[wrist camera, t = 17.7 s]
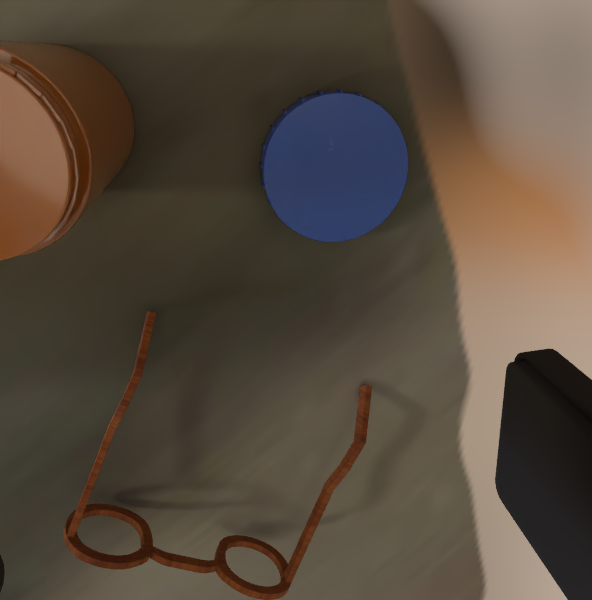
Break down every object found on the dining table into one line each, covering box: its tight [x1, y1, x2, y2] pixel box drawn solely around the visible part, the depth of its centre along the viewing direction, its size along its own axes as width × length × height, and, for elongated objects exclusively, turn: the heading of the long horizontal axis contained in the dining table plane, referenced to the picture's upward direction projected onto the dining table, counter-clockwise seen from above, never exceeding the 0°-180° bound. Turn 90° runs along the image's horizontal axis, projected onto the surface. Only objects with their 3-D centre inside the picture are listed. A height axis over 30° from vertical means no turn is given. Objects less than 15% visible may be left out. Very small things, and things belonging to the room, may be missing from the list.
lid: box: [259, 89, 408, 242], centre depth 25 cm, size 7×7×2 cm
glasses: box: [63, 311, 372, 600], centre depth 29 cm, size 13×13×5 cm
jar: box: [0, 40, 135, 260], centre depth 19 cm, size 6×6×10 cm
